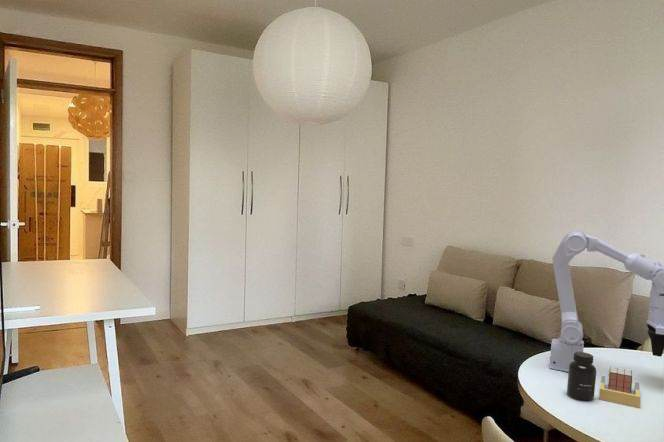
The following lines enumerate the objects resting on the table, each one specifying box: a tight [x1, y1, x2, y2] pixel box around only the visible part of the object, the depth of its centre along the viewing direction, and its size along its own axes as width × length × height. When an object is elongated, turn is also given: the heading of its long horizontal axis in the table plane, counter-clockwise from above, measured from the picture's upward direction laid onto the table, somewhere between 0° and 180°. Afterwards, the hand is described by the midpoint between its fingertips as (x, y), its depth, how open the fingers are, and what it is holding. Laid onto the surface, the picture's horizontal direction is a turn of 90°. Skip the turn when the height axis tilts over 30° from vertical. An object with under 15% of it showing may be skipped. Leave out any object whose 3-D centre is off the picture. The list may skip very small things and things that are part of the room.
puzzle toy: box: [607, 366, 633, 394], centre depth 143 cm, size 6×6×6 cm
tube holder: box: [598, 375, 641, 409], centre depth 139 cm, size 10×13×3 cm
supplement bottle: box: [566, 351, 597, 402], centre depth 137 cm, size 7×7×12 cm
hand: (656, 352), depth 148 cm, fingers open, 7 cm apart
